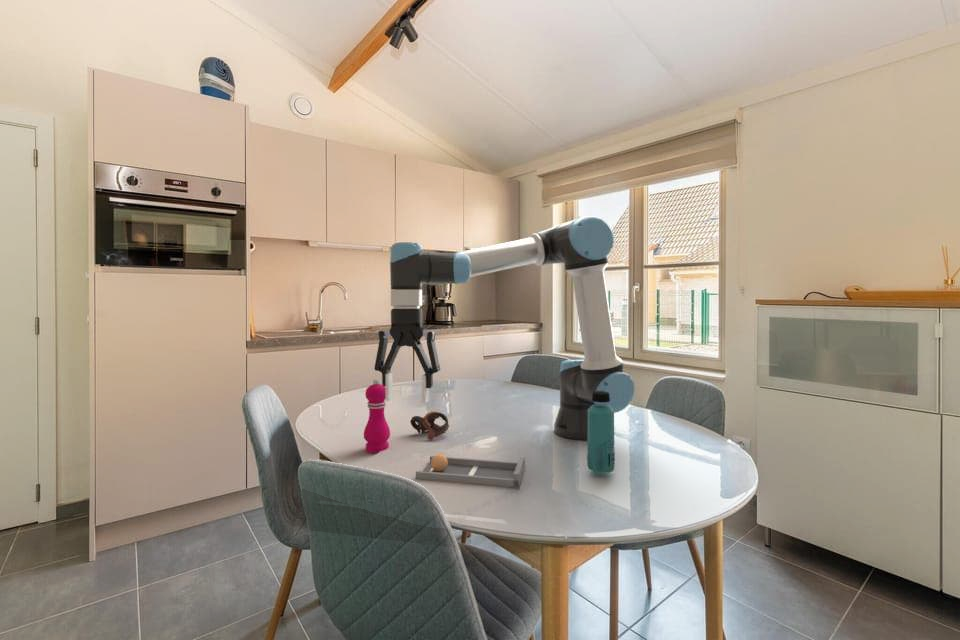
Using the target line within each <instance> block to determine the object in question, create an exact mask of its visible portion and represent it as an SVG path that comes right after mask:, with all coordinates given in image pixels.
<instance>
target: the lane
mask: <svg viewBox="0 0 960 640" xmlns="http://www.w3.org/2000/svg"><path fill="white" fill-rule="evenodd" d="M434 456H435V455H430V456H429V462H428V464H427V465H426V466H425V467H424V468H423V470H416V471H415V479H417V480H424V481H425V480H428V481H440V482H449V483H461V484H473V485H484V486H495V487H504V488H505V487H506V488H516V489H517V488H518V491H520V488H521V484H522V481H523V478H524V475H525V470H526V467H525V465H526V463H525V462H526V461H525V456H519V457H518V460H517V461H508V460H507V461H505V460H504V461H503V460H492V459H491V460H490V459H479V458H468V457H467V458H465V457H451V456H445V457H446V458H447V461H448V464H447V467H446V468H445V469H444V470H443V471H435V470H434V469H433V468H432V466H431V460H432V458H433V457H434Z"/></svg>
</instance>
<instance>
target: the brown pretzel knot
mask: <svg viewBox="0 0 960 640" xmlns="http://www.w3.org/2000/svg"><path fill="white" fill-rule="evenodd" d="M439 418H441V419H442V420H443V421H444V424H442V425H440V424H437V423H435V421H436V419H439ZM409 422H410V425H411V427H412V428H413V429H415V430H416V431H417V433H418V434H420V433H421V434H423V433H425V432H427V431H428V434H427V439H428V440H430V441H433V439H434V438H437V437H439V436H441V435H444V434H445V433H446V432H447V431H448V429H449V427H450V425H449V419H448V417H447V416H446V414H444V413H442V412H439V411H430V412H427V413H426V414H425V416H423V417H422V416H419V415H414V416H412V417H411V419H410V421H409Z"/></svg>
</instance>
